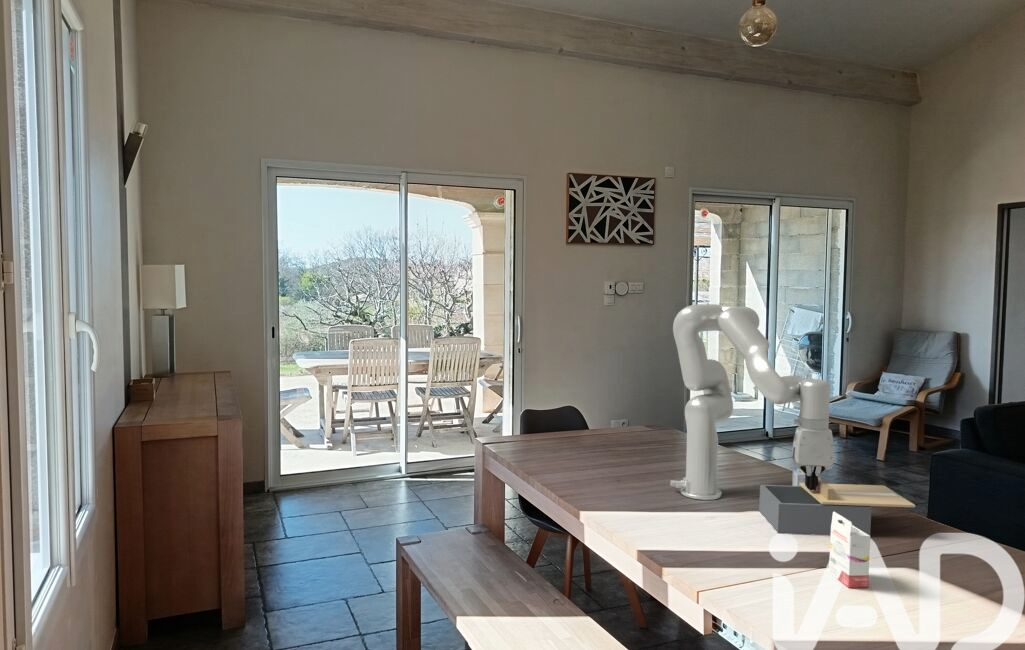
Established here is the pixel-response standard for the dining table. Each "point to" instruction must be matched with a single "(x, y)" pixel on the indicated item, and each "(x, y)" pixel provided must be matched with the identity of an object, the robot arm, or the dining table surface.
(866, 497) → the lid
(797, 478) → the medicine box
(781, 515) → the box
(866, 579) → the ink cartridge box
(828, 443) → the robot arm
